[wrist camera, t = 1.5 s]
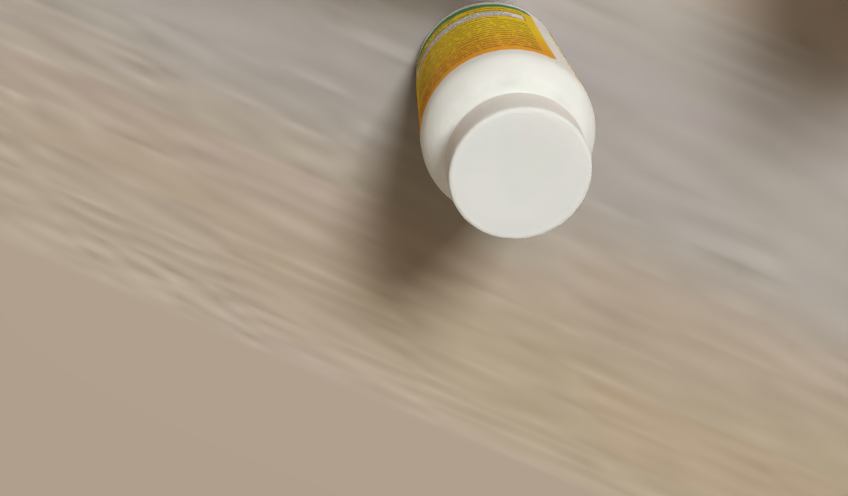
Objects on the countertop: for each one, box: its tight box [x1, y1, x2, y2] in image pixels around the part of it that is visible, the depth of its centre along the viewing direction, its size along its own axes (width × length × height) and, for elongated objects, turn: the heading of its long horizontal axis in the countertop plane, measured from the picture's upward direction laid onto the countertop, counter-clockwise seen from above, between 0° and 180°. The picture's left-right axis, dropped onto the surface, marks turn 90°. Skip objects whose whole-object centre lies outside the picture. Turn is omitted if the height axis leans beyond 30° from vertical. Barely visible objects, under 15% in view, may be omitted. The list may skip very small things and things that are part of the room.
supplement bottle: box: [416, 2, 595, 239], centre depth 26 cm, size 5×5×10 cm
